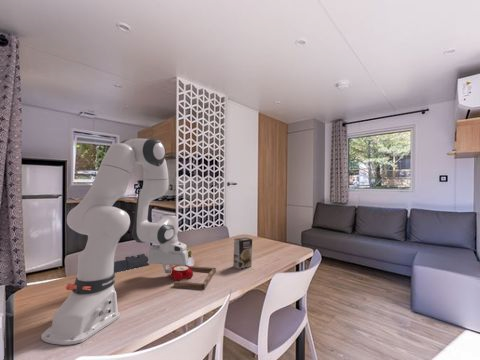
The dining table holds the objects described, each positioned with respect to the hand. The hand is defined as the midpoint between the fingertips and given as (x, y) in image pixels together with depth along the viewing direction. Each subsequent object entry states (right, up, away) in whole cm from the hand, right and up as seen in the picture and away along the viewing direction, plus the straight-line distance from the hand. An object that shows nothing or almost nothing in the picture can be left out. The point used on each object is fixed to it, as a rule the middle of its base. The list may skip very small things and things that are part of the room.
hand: (167, 272), depth 120 cm
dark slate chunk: (-27, -2, +14) cm, 30 cm away
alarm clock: (+7, -2, 0) cm, 7 cm away
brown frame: (+14, -2, -2) cm, 15 cm away
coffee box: (+38, -3, +17) cm, 42 cm away
